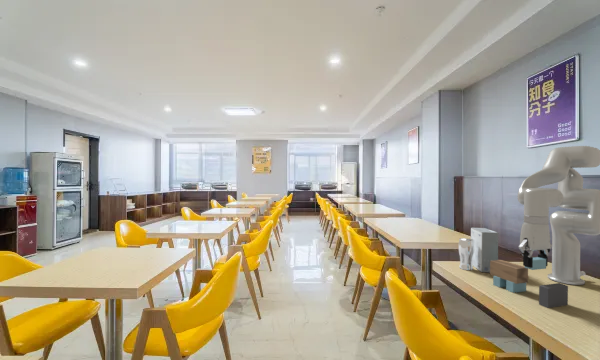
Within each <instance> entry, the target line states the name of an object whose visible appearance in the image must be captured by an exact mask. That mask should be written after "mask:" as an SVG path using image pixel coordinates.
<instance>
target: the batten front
mask: <svg viewBox="0 0 600 360" xmlns="http://www.w3.org/2000/svg"><path fill="white" fill-rule="evenodd" d="M505 288H506V289H505V290H506V291H507V290H508V292H510V293H512V292H513V294H514V293H515V292H516V293H522V292H523V293H524V292H527V283H519V284H516V283H513V282H510V281H508V280H506V287H505Z"/></svg>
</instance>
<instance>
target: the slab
mask: <svg viewBox="0 0 600 360" xmlns="http://www.w3.org/2000/svg"><path fill="white" fill-rule="evenodd" d="M489 274H490V275H491V276H496V277H499V278H502V279H505V280H508V281H510V282H513V283H516V284H519V283H526V284H527V283H529V269H528V268H525V266H523V265H519V264H517V263H514V262H509V261H506V260H503V259H498V260H493V261H490V272H489Z"/></svg>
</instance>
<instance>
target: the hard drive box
mask: <svg viewBox="0 0 600 360" xmlns="http://www.w3.org/2000/svg"><path fill="white" fill-rule="evenodd" d="M470 239H473V240H474V254H473V259H472V266H473V267H474V268H475V269H477V270H478V271H479V272H481V273H490V261H493V260H499V232H497V231H494V230H491V229H489V228H486V227H471V228H470Z"/></svg>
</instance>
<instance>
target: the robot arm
mask: <svg viewBox="0 0 600 360" xmlns="http://www.w3.org/2000/svg"><path fill="white" fill-rule="evenodd" d="M599 166H600V149H599V148H597V147H594V146H590V145H575V146H574V145H572V146H561V147H556V148H553V149H552V150H550V151H549V153H548V155H547V157H546V160H545V162H544V163H543V166H542V169H540V170H538V171H535V172H534V173H532V174H530V175H529V176H527V177H526V178H525V179H524V180H523V181H522V183H521V185H520V187H519V190H518V192H517V200H518V202H519V204H521V205H522V206H523V223H522V224H521V229H520V236H519V245H518V249H519V251H520V252H521V255H522V257H523V259H522V260H523V261H522V266H524V267H525V266H526V267H529V268H532V267H533V254H534V251H538V253H539V254H537V257H539V258H544V259H546V267H548V257H549V256H550V252H551V272H550V273H548V274H547V278H548V280H551V281H554V282H557V283H560V284H564V285H573V286H581V285H585V283H586V282H585V280H584V279H583V278H581V277H583V276H586V272H585V271H583V270H582V271H581V243H580V240H579V239H578V238H577V236H576V234H577V235H578V234H579V235H586V236H599V235H600V189H595V188H583V186H584V177H583V176H582V175H581V174H580V173H579V171H577V170H576V169H577V168H578V169H581V168H590V169H591V168H597V167H599ZM556 183H557V188H552V187H551V188H549V187H546V186H549V185H553V184H556ZM556 207H560V208H563V209H568V210H567V211H566V210H558V211H557V210H556V211H554V212H553V213H551V214H549V212H550V211H549V210H550V208H556ZM570 210H582V211H584V210H585V211H588V212H581V211H580V212H579V211H570ZM549 215H550V216H549ZM549 222H550V223H549ZM549 224H550V226H549ZM550 228H551V232H550ZM550 233H551V235H550ZM551 238H552V240H551ZM551 249H552V250H551Z"/></svg>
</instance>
